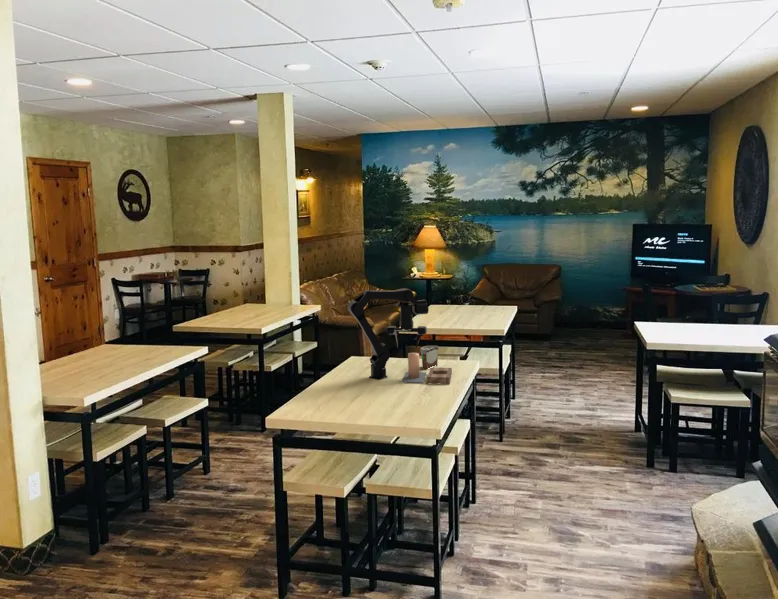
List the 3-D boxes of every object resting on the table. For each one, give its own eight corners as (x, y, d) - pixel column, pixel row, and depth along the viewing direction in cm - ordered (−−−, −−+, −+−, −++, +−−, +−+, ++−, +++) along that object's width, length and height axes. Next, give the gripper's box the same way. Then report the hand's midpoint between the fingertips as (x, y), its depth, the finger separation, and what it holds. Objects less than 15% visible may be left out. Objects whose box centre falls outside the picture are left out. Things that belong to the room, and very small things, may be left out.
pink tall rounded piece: (406, 377, 308) (405, 354, 306) (412, 374, 312) (412, 352, 310) (415, 378, 304) (414, 355, 303) (421, 376, 308) (421, 353, 307)
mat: (401, 383, 300) (401, 381, 300) (405, 373, 318) (405, 371, 318) (423, 383, 298) (423, 382, 298) (426, 373, 316) (426, 372, 316)
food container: (428, 363, 336) (428, 344, 335) (438, 365, 333) (438, 345, 331) (415, 368, 326) (414, 348, 325) (425, 370, 323) (425, 350, 321)
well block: (427, 383, 298) (427, 377, 298) (430, 373, 316) (430, 367, 315) (449, 384, 297) (449, 377, 296) (451, 374, 314) (451, 367, 314)
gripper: (427, 312, 317) (428, 344, 320) (389, 312, 320) (389, 344, 322) (425, 316, 307) (425, 349, 309) (385, 316, 309) (386, 349, 311)
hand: (406, 347), depth 313 cm, fingers open, 9 cm apart
